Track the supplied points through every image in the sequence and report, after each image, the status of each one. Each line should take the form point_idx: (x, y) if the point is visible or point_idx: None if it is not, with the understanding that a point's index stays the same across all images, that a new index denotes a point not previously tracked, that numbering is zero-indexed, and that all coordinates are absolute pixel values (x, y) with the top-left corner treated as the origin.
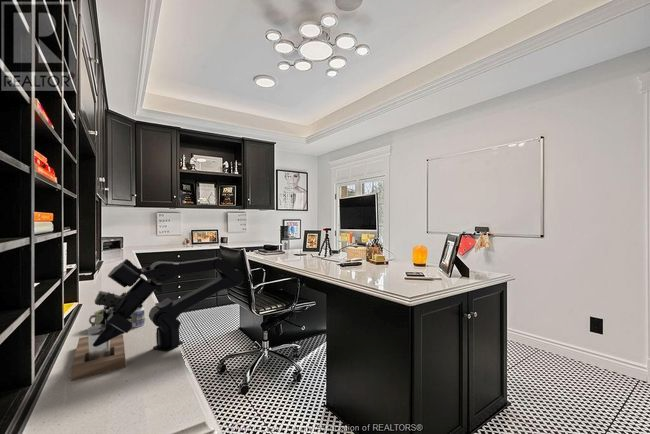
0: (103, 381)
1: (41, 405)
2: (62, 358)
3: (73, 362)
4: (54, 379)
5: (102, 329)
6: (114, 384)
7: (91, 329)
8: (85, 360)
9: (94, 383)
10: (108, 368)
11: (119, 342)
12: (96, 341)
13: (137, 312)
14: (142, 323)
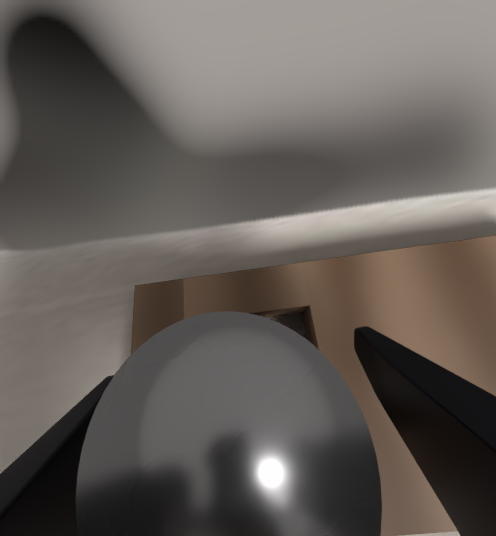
0: None
1: (47, 256)
2: (404, 214)
3: (210, 277)
4: (207, 241)
5: (91, 533)
6: (11, 462)
7: (154, 363)
8: (288, 311)
9: (79, 380)
10: None
11: (424, 497)
12: (73, 414)
13: None
14: None
